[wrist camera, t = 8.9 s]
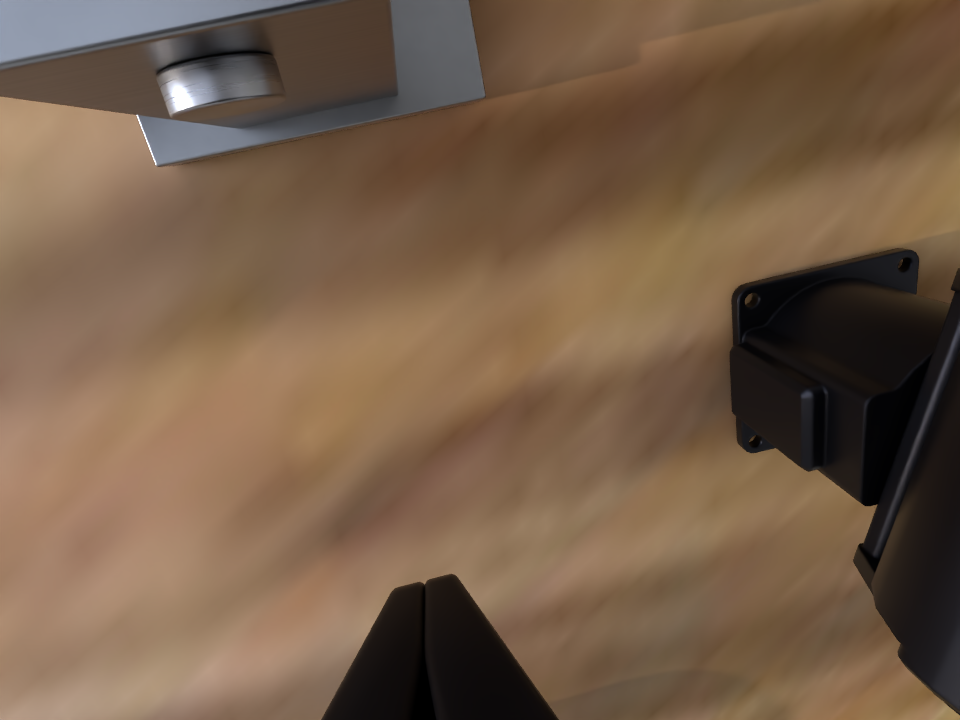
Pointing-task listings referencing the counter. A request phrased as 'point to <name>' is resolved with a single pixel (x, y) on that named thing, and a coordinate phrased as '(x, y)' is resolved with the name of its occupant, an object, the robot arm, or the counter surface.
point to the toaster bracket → (241, 65)
